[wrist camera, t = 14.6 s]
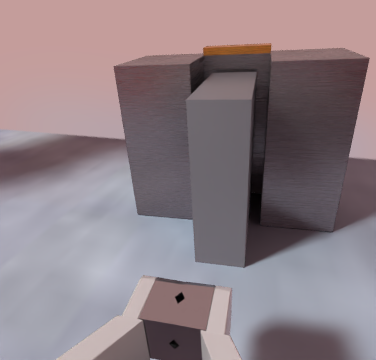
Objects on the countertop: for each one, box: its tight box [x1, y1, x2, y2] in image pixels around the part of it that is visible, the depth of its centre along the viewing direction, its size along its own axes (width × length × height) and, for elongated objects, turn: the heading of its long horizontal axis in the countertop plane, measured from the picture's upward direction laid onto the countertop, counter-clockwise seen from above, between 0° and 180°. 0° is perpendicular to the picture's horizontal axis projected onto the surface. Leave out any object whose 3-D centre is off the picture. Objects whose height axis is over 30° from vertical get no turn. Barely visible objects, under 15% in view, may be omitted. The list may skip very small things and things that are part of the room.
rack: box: [114, 43, 369, 232], centre depth 22 cm, size 14×6×12 cm, turn 77°
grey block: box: [186, 72, 257, 268], centre depth 19 cm, size 3×8×10 cm, turn 167°
